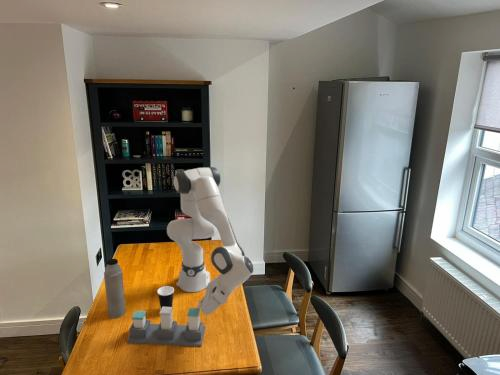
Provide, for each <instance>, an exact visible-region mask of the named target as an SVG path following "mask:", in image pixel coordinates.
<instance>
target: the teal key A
mask: <svg viewBox="0 0 500 375" xmlns="http://www.w3.org/2000/svg"><path fill="white" fill-rule="evenodd" d="M146 314H147V311H145V310H135V311H134V312H133V315H132V318H131V319H132V321H133V322H132V323H134V328H144V327H145V325H146V320H147V319H146Z"/></svg>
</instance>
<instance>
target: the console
mask: <svg viewBox="0 0 500 375" xmlns="http://www.w3.org/2000/svg"><path fill="white" fill-rule="evenodd" d="M177 323H178V321H177V320H173V325H172V328H171V330H167V329H161V321H160V322H159V323H151V319H146V325H145V327H144V328H134V323H133V322H132V323H131V325H130V327H129V329H128V330H129V336H128V337H127V339H126V343H127V344H141V345H143V344H144V345H160V346H161V345H162V346H183V347H184V346H185V347H202V344H203V342H204V335H205V332H206V328H207V327H206V325H204V322H203V321H200V326H199V330H198V331H189V320H188V321H187V323H186V324H177Z"/></svg>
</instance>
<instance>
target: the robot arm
mask: <svg viewBox="0 0 500 375" xmlns="http://www.w3.org/2000/svg"><path fill="white" fill-rule="evenodd" d="M220 184H221V174H220V171H219V169H218V168H216V167H214V166H207V167H197V168H192V169H188V170H182V171H178V172H176V173H175V174H174V176H173V185H174V188H175V191H176V192H177V193H179V194H180V210H181V212H182V213H183V214H184V215H186V216H187V217H190V218H178V219H174V220H171V221H170V222H169V223H168V225H167V227H166V234H167V236H168V237H169V239H170V240H172V241H174V242H175V243H176V244H177V245H178V246H179V248H180V251H181V258H182V262H181V270H180V271H179V274H178V275H179V277H178V281H176V284H175V285H176V286H177V287H179V288H180V290H182V291H184V292H187V293H197V292H200V291H201V292H202V291H203V290H204V289H205V292H204V296H202V298H201V300H200V301H199V302H198V304H197V308H200V312H202V313H203V314H205V316H209V315H211V314H212V313H214V312H215V311H216V310H217V309H218V308H220V306H221V305H225V304H226V303H227V301H228V299H229V297H230V296H231V294H232V293H233V292H234V291H235V290H236V289H237V288H238V287H239V286H242V285H243V283H245V282H246V281H247V280H249V278H250V277H251V276H252V274H253V272H254V265H253V263H252V261H251V260H250V258H249V257H248V256H246V254H245V252H244V250H243V248H242V246H240V244H239V243H238V241H237V238H236V236H235V235H236V234H235V232H234V229H233V226H232V224H231V222H230V219H229V217H228V214H227V211H226V209H225V206H224V202H223V199H222V195H221V192H220V190H219V186H220ZM217 232H218V233H219V238H220V240H221V242H222V245H223V246H218V247H216V248H214V249H213V251H212V252H211V256H210V261H211V264H212V265H213V267H214V268H215V269H216V270H217V271H218V272H219V273H220V274H219V275H218V276H216V277H215V278H213V279H212V280H211V274H210V271H208V270H206V269H207V268H206V265H205V261H204V248H203V247H202V246H201V245H200V244H199V243H196V242H194V241H193V240H202V239H203V240H205V239H208V238H212V237H214V236H216V233H217Z"/></svg>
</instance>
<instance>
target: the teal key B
mask: <svg viewBox="0 0 500 375" xmlns="http://www.w3.org/2000/svg"><path fill="white" fill-rule="evenodd" d="M200 313H201V309H200V308H198V307H189V309H188V312H187V317H188V321H189V331H198V330H199V326H200V322H201V320H200Z"/></svg>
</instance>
